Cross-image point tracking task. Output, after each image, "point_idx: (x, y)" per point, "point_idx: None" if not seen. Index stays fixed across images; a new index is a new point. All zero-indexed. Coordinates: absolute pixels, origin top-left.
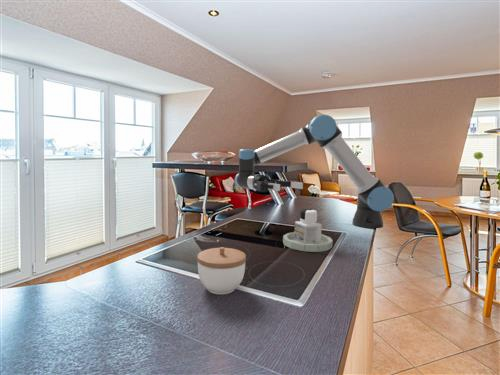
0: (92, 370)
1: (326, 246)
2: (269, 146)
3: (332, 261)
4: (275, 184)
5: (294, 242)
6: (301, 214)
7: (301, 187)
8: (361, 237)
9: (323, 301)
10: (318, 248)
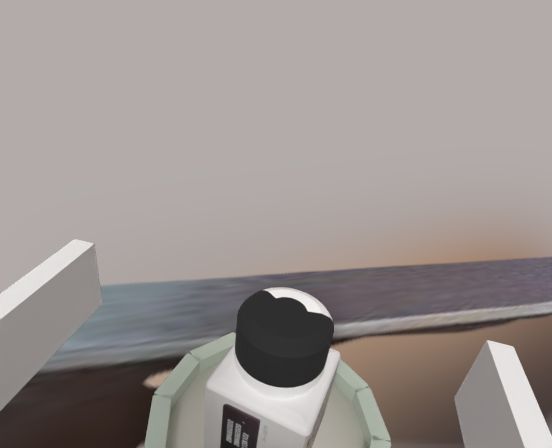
0: None
1: None
2: None
3: (364, 316)
4: (534, 410)
5: (382, 431)
6: (326, 352)
7: (99, 291)
8: None
9: (535, 284)
10: None
